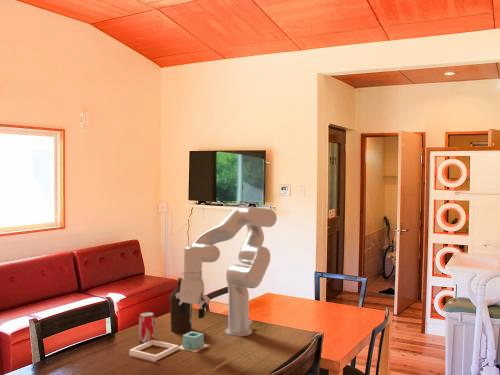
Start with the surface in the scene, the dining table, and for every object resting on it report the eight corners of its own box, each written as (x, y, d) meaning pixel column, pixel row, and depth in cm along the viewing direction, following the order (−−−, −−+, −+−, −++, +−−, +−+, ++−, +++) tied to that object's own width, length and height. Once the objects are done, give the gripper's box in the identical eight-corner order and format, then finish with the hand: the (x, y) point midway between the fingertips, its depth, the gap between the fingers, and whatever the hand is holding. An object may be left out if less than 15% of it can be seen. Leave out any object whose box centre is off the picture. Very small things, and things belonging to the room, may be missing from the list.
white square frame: (152, 345, 206) (152, 339, 206) (178, 351, 199) (178, 345, 199) (129, 355, 194) (129, 349, 194) (156, 362, 187) (156, 356, 187)
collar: (191, 342, 207) (191, 331, 207) (203, 345, 204) (203, 333, 204) (180, 348, 200) (180, 336, 200) (192, 351, 197) (192, 339, 197)
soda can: (151, 344, 207) (151, 316, 207) (136, 343, 209) (135, 315, 209) (157, 338, 214) (157, 312, 214) (142, 337, 216) (142, 311, 215)
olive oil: (170, 335, 218) (170, 281, 218) (169, 328, 229) (169, 276, 228) (193, 334, 221) (193, 280, 220) (191, 327, 231) (191, 275, 231)
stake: (190, 342, 209) (190, 331, 209) (209, 346, 204) (209, 335, 204) (176, 349, 201) (176, 338, 201) (195, 354, 196) (195, 342, 196)
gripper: (171, 274, 203) (170, 315, 203) (204, 279, 194) (203, 321, 194) (182, 272, 209) (181, 311, 209) (214, 276, 201) (214, 317, 201)
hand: (192, 316), depth 202 cm, fingers open, 9 cm apart
